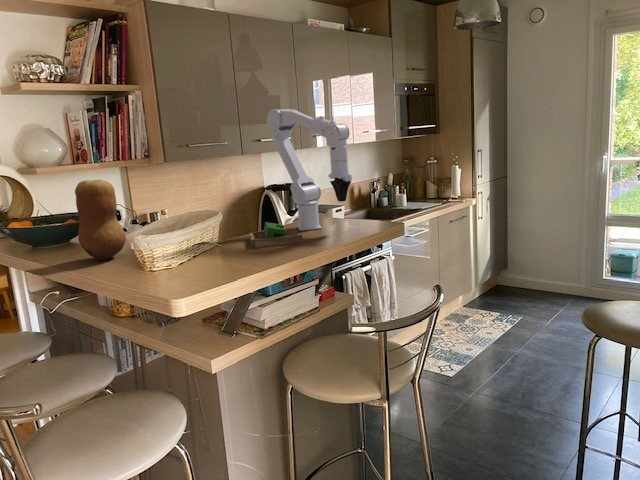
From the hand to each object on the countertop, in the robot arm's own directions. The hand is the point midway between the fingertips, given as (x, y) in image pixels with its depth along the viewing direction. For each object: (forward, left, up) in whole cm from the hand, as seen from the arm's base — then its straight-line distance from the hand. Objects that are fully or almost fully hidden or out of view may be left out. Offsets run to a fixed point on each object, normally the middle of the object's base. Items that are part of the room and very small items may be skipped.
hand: (341, 201), depth 176 cm
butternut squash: (+2, -78, -11) cm, 79 cm away
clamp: (+4, -24, -11) cm, 27 cm away
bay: (+4, -24, -10) cm, 26 cm away
